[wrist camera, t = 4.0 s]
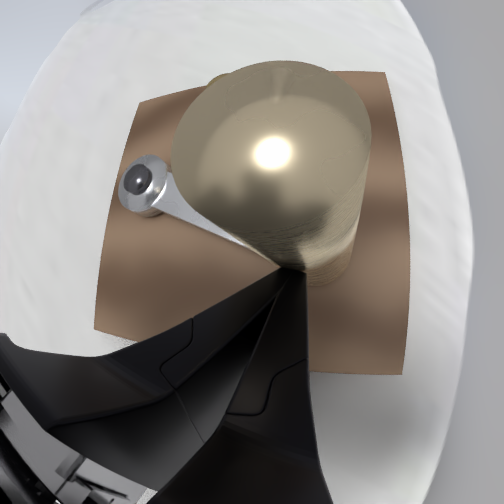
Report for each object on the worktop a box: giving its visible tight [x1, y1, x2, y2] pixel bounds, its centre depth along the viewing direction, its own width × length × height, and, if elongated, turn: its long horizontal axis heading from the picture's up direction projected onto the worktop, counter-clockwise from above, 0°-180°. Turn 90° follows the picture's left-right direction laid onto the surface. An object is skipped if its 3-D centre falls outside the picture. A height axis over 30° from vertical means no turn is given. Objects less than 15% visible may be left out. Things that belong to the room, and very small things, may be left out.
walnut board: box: [94, 71, 410, 375], centre depth 18 cm, size 20×21×1 cm
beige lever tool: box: [118, 61, 372, 286], centre depth 12 cm, size 16×4×11 cm, turn 64°
